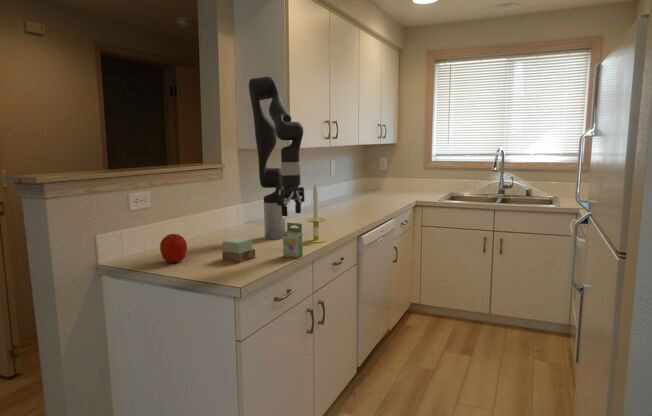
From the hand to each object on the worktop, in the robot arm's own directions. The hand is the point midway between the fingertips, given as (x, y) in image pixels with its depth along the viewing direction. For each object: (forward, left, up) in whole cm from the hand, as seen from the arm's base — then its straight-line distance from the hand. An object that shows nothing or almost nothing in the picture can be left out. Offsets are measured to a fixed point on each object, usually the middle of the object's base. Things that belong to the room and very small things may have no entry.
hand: (291, 214), depth 182 cm
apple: (+30, -35, -17) cm, 49 cm away
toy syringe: (-29, -9, -17) cm, 35 cm away
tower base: (+14, -16, -18) cm, 27 cm away
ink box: (0, 0, -17) cm, 17 cm away
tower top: (+14, -16, -13) cm, 25 cm away
